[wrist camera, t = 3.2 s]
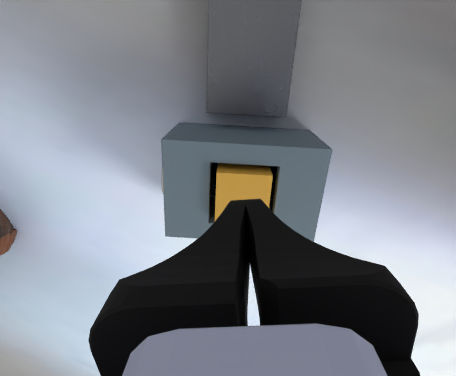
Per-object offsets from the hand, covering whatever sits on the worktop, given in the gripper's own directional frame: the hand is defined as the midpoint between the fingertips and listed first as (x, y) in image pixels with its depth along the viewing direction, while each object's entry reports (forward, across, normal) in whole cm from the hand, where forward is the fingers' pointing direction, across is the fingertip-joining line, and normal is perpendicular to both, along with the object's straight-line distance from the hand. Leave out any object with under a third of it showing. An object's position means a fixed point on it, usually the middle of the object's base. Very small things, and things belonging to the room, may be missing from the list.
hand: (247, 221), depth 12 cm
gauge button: (+7, 0, +1) cm, 7 cm away
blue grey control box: (+9, 0, +1) cm, 9 cm away
